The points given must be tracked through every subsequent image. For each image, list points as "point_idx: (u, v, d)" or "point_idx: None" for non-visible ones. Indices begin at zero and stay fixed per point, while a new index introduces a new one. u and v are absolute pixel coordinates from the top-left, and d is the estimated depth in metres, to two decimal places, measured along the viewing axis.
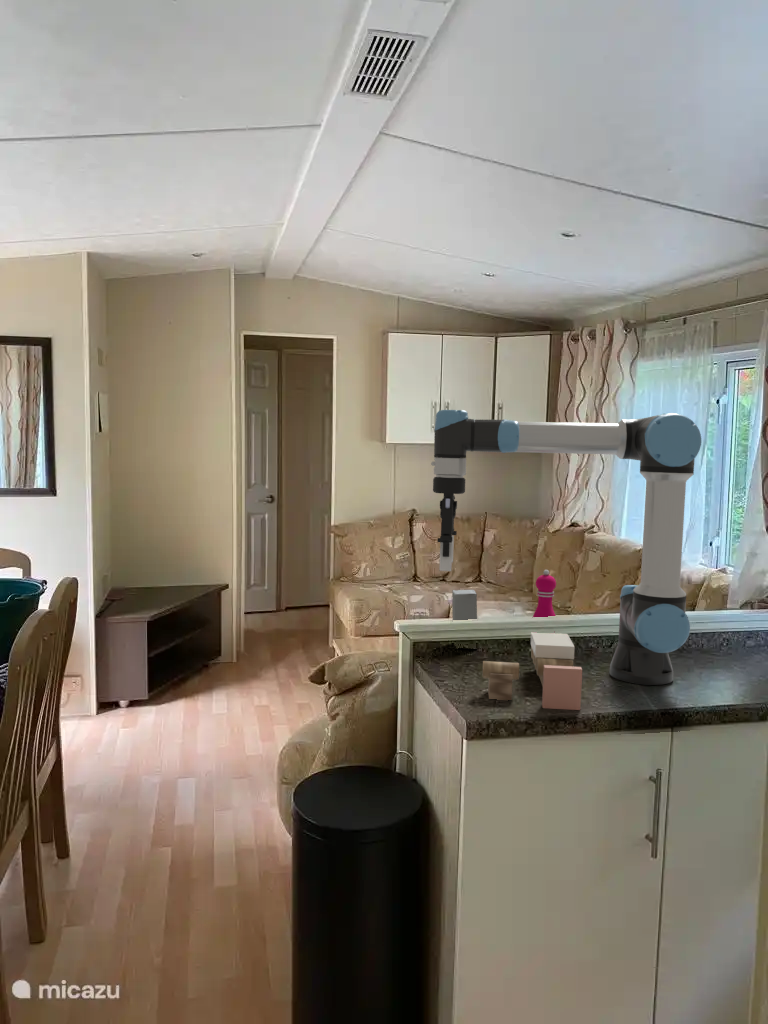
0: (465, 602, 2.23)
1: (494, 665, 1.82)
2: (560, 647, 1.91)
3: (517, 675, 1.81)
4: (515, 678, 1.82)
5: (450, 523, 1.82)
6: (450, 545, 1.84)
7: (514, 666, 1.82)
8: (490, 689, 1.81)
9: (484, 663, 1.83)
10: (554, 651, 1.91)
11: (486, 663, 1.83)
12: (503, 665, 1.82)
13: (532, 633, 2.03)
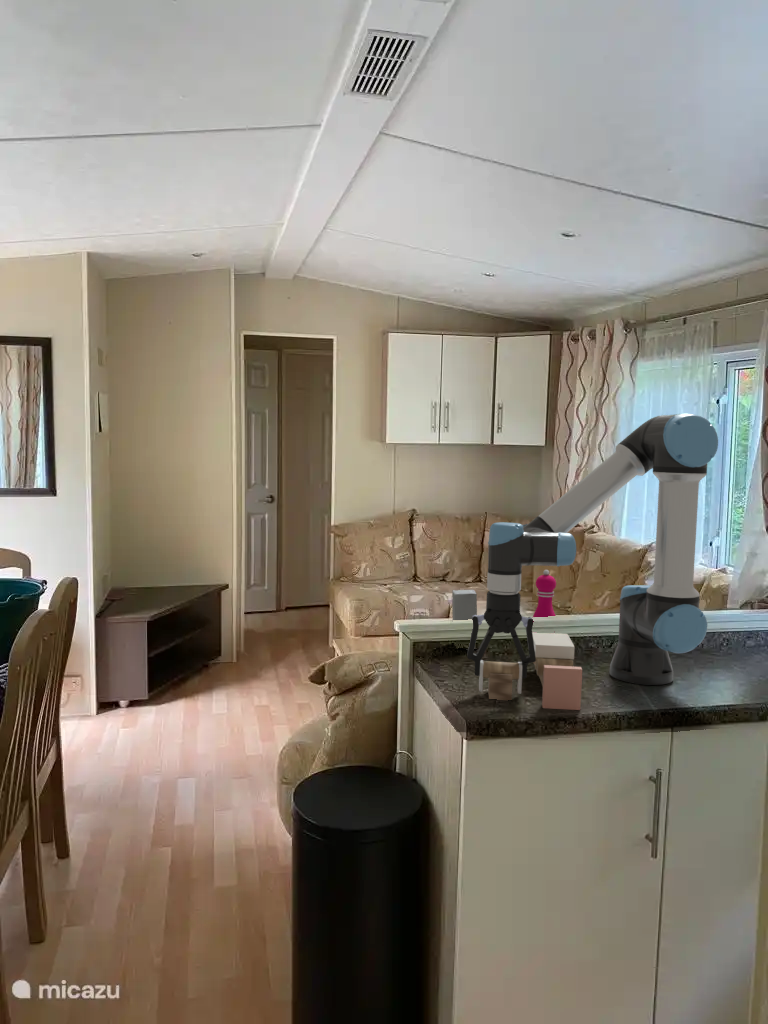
0: (465, 602, 2.23)
1: (494, 665, 1.82)
2: (560, 647, 1.91)
3: (517, 675, 1.81)
4: (515, 678, 1.82)
5: (470, 641, 1.83)
6: (480, 665, 1.83)
7: (514, 666, 1.82)
8: (490, 689, 1.81)
9: (484, 663, 1.83)
10: (554, 651, 1.91)
11: (486, 663, 1.83)
12: (503, 665, 1.82)
13: (532, 633, 2.03)
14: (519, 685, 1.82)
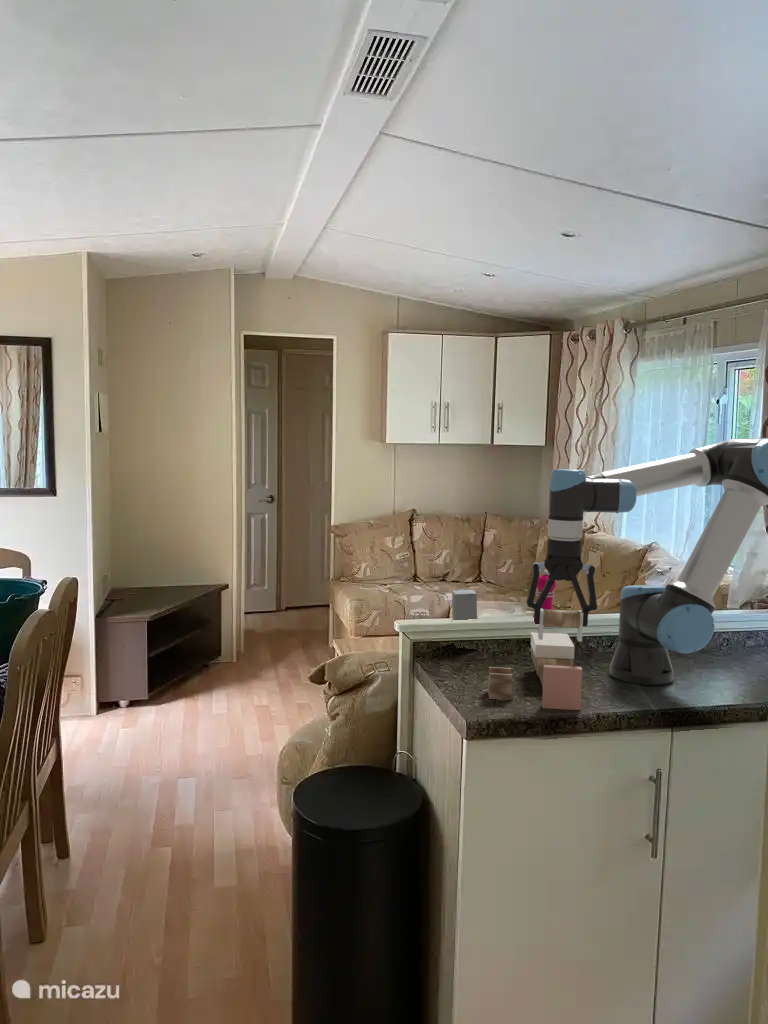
0: (465, 602, 2.23)
1: (554, 613, 1.80)
2: (560, 647, 1.91)
3: (578, 623, 1.80)
4: (576, 626, 1.80)
5: (530, 589, 1.81)
6: (540, 613, 1.81)
7: (575, 613, 1.80)
8: (490, 689, 1.81)
9: (544, 611, 1.81)
10: (554, 651, 1.91)
11: (546, 611, 1.81)
12: (563, 613, 1.80)
13: (532, 633, 2.03)
14: (580, 633, 1.80)
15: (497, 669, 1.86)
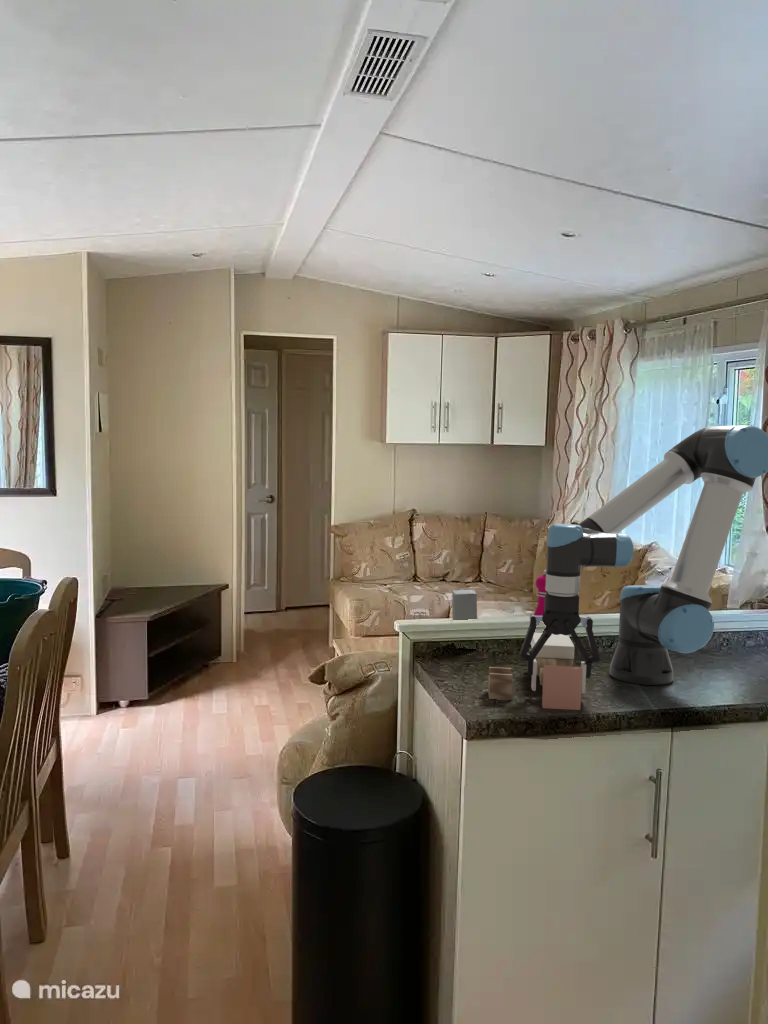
0: (465, 602, 2.23)
1: None
2: (560, 647, 1.91)
3: None
4: None
5: (525, 641, 1.82)
6: (533, 664, 1.82)
7: None
8: (490, 689, 1.81)
9: (542, 670, 1.82)
10: (554, 651, 1.91)
11: None
12: None
13: None
14: (583, 685, 1.81)
15: (497, 669, 1.86)
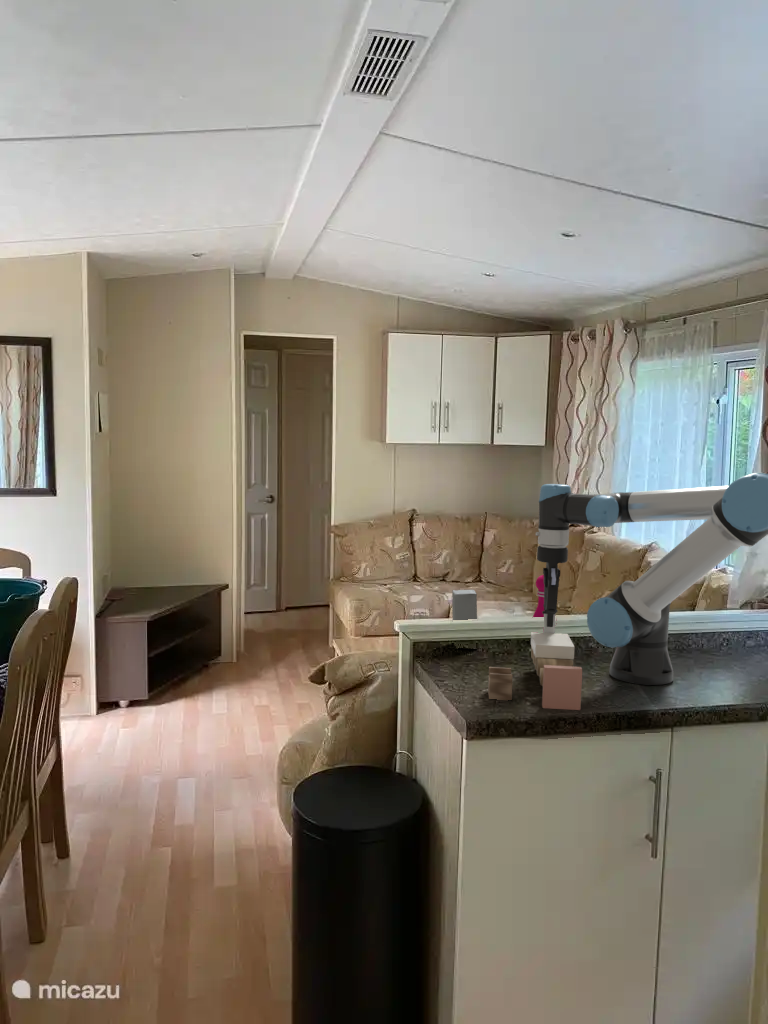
0: (465, 602, 2.23)
1: None
2: (560, 647, 1.91)
3: None
4: None
5: (555, 599, 1.99)
6: (553, 616, 2.03)
7: None
8: (490, 689, 1.81)
9: (542, 670, 1.82)
10: (554, 651, 1.91)
11: None
12: None
13: (532, 633, 2.03)
14: None
15: (497, 669, 1.86)
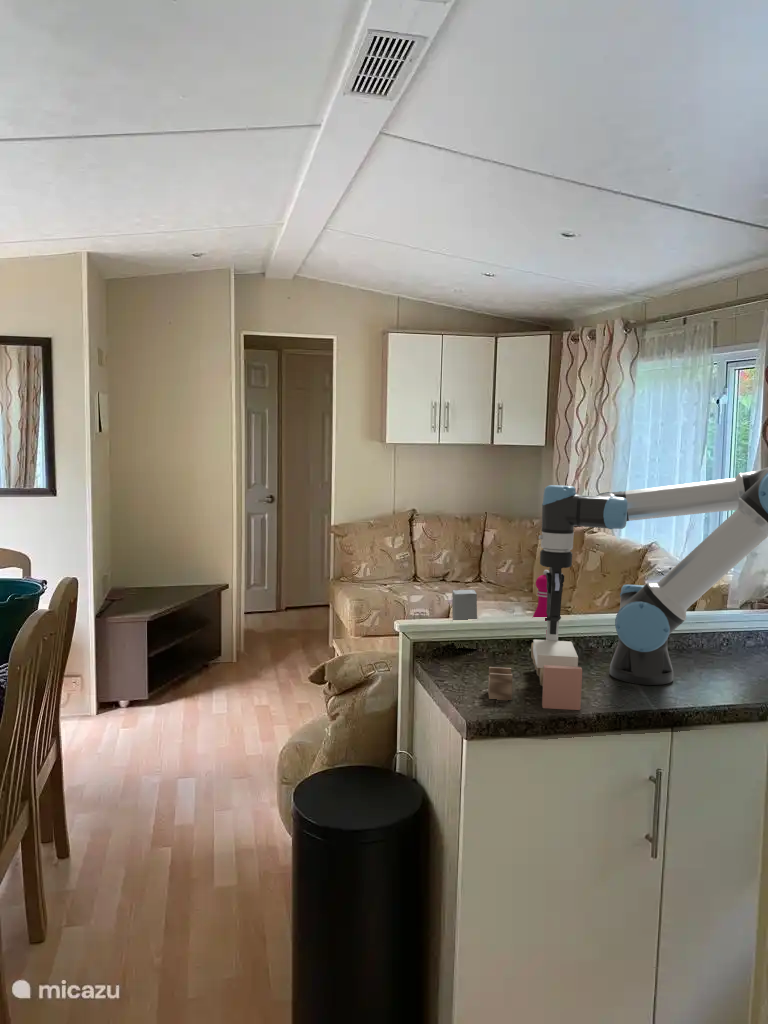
0: (465, 602, 2.23)
1: None
2: (563, 657, 1.82)
3: None
4: None
5: (559, 606, 1.91)
6: (557, 623, 1.95)
7: None
8: (490, 689, 1.81)
9: (542, 671, 1.82)
10: (557, 662, 1.83)
11: None
12: None
13: (534, 641, 1.94)
14: None
15: (497, 669, 1.86)
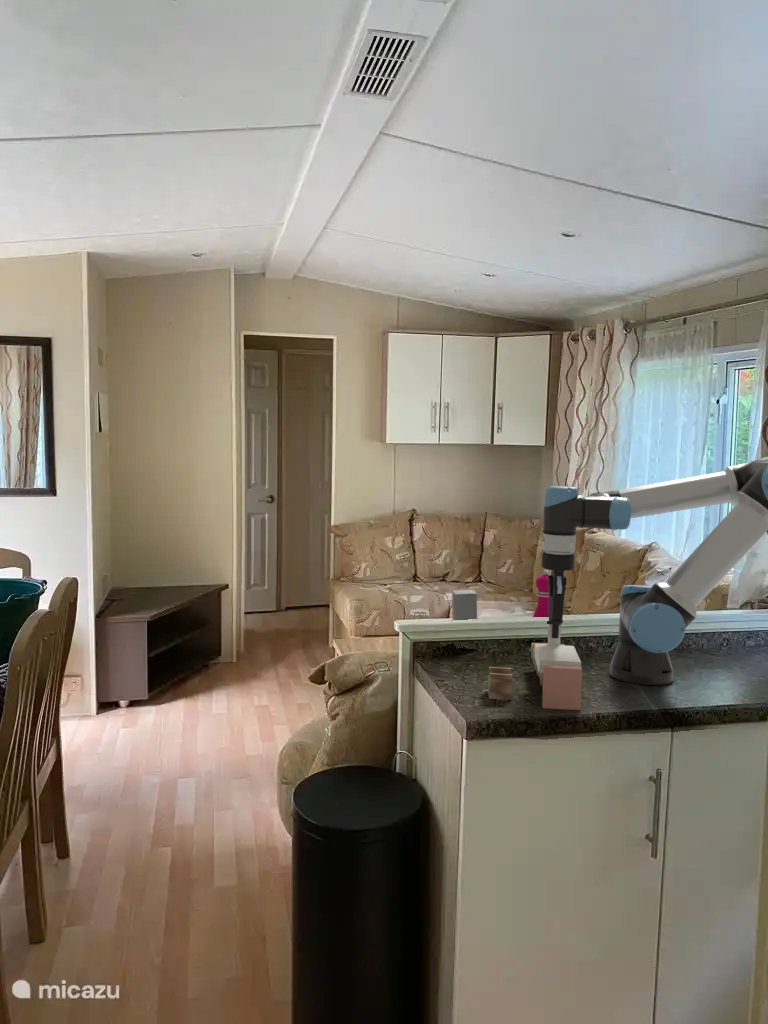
0: (465, 602, 2.23)
1: None
2: (565, 662, 1.79)
3: None
4: None
5: (561, 609, 1.87)
6: (559, 627, 1.91)
7: None
8: (490, 689, 1.81)
9: (542, 673, 1.81)
10: None
11: None
12: None
13: (536, 645, 1.91)
14: None
15: (497, 669, 1.86)
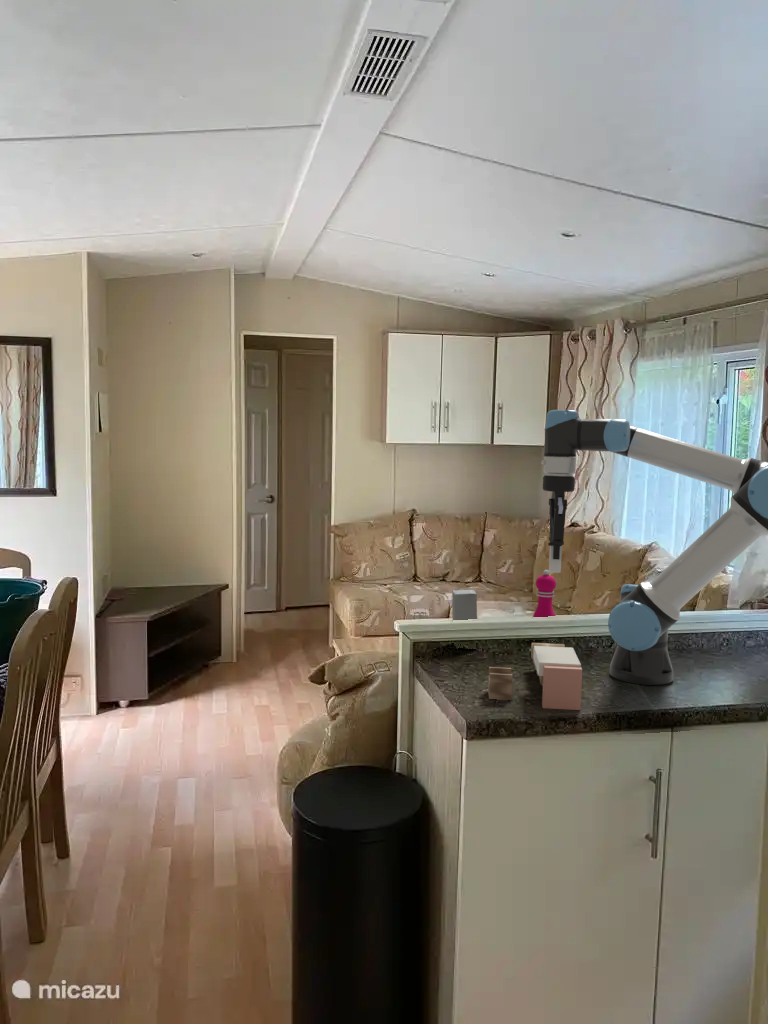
0: (465, 602, 2.23)
1: None
2: (565, 665, 1.77)
3: None
4: None
5: (562, 529, 1.91)
6: (560, 548, 1.95)
7: None
8: (490, 689, 1.81)
9: None
10: None
11: None
12: None
13: (535, 647, 1.89)
14: None
15: (497, 669, 1.86)
